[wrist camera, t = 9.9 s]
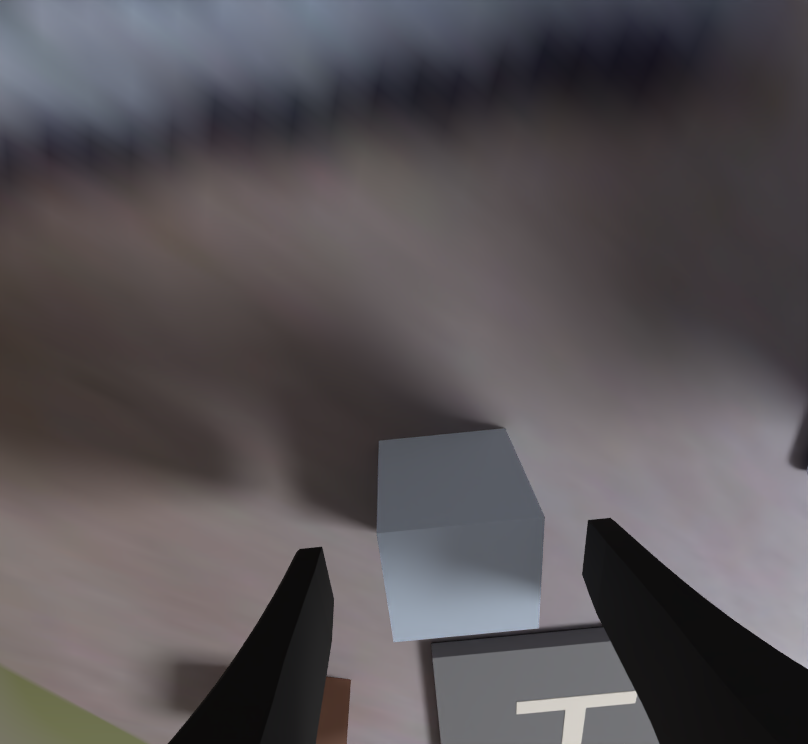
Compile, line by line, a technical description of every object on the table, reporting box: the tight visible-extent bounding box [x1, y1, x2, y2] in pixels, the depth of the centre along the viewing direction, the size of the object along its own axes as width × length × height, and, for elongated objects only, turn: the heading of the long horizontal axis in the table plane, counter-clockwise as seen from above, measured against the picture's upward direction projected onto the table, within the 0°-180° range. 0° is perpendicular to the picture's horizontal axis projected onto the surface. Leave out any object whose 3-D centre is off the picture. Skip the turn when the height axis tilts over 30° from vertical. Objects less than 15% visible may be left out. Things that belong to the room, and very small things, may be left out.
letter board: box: [431, 627, 659, 744], centre depth 21 cm, size 12×12×1 cm
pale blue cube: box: [377, 428, 545, 642], centre depth 13 cm, size 4×4×4 cm
